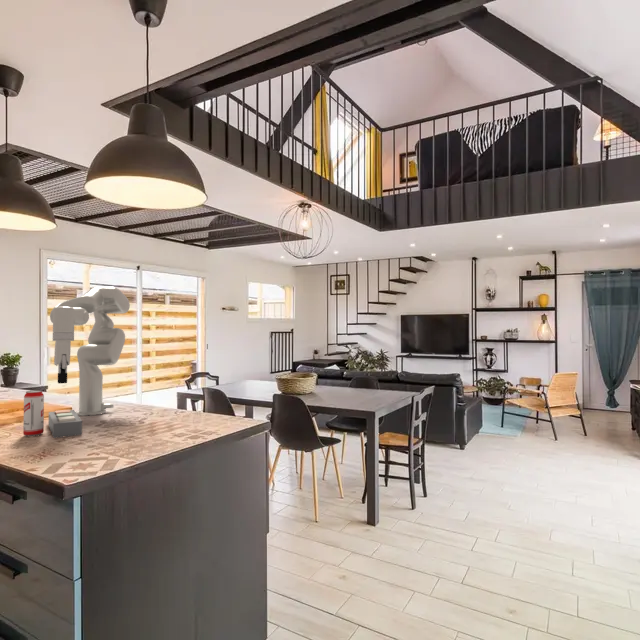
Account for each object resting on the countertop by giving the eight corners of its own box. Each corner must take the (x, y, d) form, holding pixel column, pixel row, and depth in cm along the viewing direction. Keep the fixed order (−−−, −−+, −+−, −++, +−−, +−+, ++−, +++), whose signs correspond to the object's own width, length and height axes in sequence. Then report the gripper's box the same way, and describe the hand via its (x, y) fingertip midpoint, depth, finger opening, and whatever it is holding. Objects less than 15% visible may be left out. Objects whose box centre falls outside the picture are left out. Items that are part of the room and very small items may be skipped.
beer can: (41, 432, 169) (41, 389, 169) (45, 435, 164) (46, 391, 165) (21, 435, 164) (22, 391, 165) (25, 438, 160) (26, 392, 160)
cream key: (73, 422, 171) (73, 415, 171) (74, 425, 167) (75, 418, 167) (58, 424, 168) (58, 417, 168) (59, 426, 164) (59, 419, 164)
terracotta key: (69, 415, 184) (69, 409, 184) (70, 417, 180) (70, 411, 180) (54, 417, 181) (54, 410, 181) (55, 419, 177) (55, 412, 177)
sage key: (71, 419, 177) (71, 412, 177) (72, 421, 173) (72, 414, 173) (56, 420, 174) (56, 413, 174) (57, 422, 170) (57, 416, 170)
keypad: (73, 421, 187) (73, 409, 187) (81, 434, 165) (82, 420, 165) (48, 424, 182) (48, 412, 182) (53, 437, 160) (53, 423, 160)
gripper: (51, 337, 185) (50, 382, 184) (54, 337, 173) (52, 385, 172) (71, 337, 189) (71, 381, 188) (76, 337, 177) (75, 384, 176)
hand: (62, 383), depth 180 cm, fingers closed
